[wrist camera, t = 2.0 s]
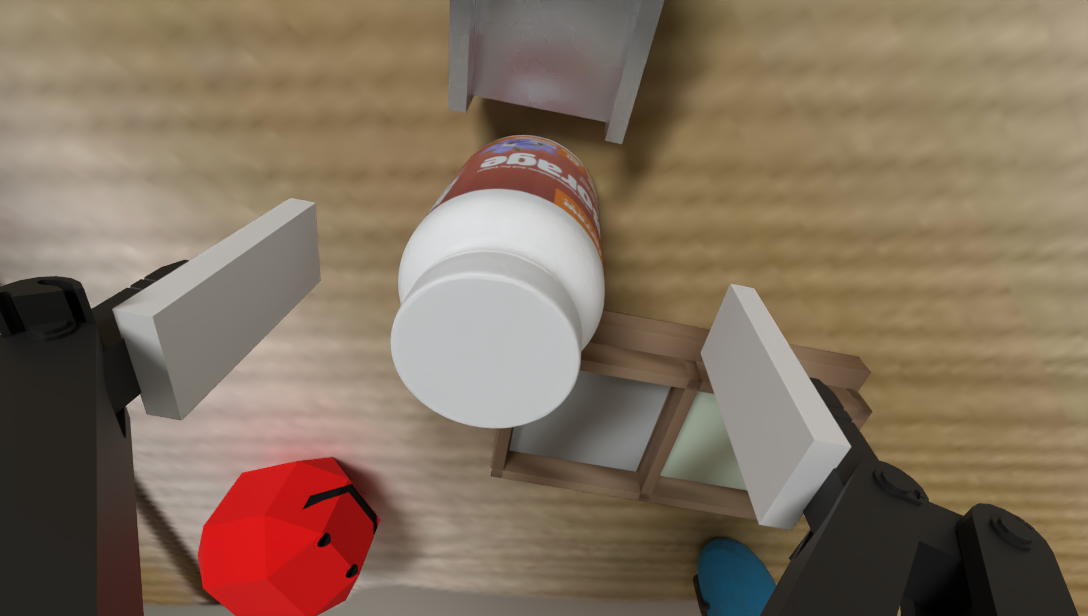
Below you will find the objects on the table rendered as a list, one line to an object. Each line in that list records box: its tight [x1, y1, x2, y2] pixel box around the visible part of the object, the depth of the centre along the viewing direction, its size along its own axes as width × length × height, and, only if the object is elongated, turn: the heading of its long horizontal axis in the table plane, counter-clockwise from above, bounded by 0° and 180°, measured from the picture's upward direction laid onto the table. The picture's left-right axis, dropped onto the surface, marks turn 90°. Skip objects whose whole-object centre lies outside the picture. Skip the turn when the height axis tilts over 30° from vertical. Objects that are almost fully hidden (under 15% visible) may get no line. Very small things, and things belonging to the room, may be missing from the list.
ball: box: [198, 457, 380, 616], centre depth 29 cm, size 8×8×8 cm
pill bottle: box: [391, 135, 605, 428], centre depth 17 cm, size 6×6×11 cm
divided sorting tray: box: [491, 311, 872, 520], centre depth 26 cm, size 17×11×3 cm, turn 80°
